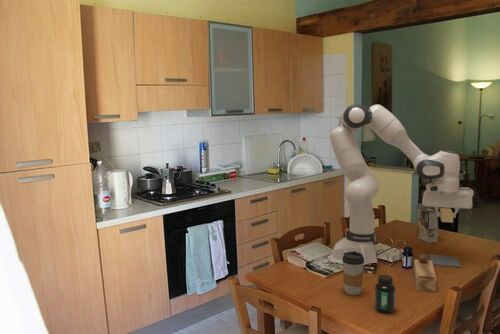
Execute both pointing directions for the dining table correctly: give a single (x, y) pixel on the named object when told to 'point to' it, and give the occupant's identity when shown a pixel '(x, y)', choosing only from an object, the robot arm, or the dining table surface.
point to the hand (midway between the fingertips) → (446, 217)
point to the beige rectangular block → (446, 215)
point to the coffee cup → (353, 272)
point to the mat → (444, 260)
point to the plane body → (424, 274)
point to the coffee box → (427, 225)
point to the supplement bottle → (385, 294)
